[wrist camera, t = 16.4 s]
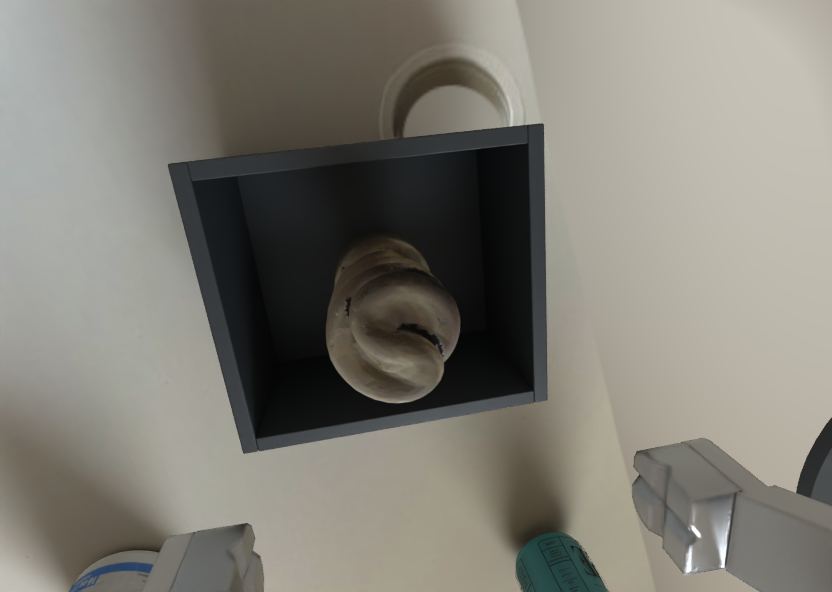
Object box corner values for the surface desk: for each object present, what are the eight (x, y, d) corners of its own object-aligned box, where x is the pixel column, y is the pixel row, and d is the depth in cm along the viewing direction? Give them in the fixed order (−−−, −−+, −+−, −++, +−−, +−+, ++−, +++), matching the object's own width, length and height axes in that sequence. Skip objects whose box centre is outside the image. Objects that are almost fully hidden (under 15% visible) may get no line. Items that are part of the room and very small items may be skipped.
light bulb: (403, 304, 33) (450, 427, 19) (324, 290, 32) (311, 409, 18) (422, 226, 31) (489, 294, 17) (340, 208, 30) (340, 264, 16)
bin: (482, 129, 31) (544, 123, 22) (493, 332, 36) (548, 400, 26) (222, 157, 29) (166, 163, 20) (270, 368, 34) (242, 454, 24)
